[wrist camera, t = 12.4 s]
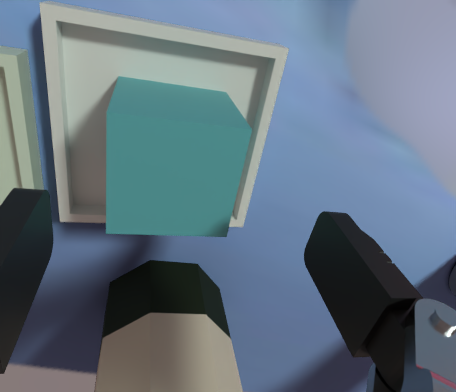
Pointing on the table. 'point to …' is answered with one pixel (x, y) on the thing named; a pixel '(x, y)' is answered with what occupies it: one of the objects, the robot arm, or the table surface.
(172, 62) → the grey tray
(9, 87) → the green tray
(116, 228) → the teal block
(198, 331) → the wine bottle
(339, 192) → the table surface
